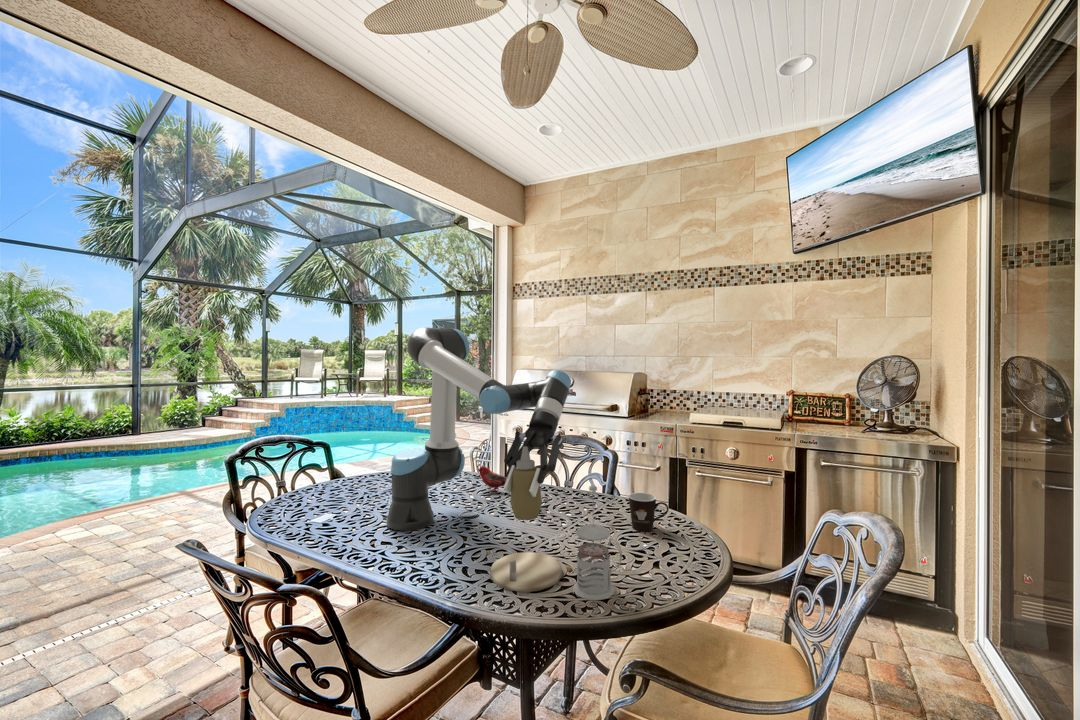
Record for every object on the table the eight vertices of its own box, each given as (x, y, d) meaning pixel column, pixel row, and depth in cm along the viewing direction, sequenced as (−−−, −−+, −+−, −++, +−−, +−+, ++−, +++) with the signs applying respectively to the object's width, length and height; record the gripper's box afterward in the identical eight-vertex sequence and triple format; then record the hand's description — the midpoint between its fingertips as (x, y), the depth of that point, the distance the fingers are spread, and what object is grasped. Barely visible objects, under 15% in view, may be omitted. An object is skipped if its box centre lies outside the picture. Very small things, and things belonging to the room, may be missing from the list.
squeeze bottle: (505, 520, 118) (504, 449, 118) (518, 510, 126) (517, 443, 126) (535, 524, 116) (534, 451, 115) (546, 513, 123) (545, 444, 123)
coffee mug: (623, 528, 150) (623, 497, 150) (637, 520, 156) (637, 491, 156) (656, 538, 142) (656, 505, 142) (670, 530, 148) (670, 498, 148)
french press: (577, 576, 119) (577, 478, 118) (624, 583, 115) (623, 481, 115) (568, 596, 109) (568, 489, 109) (619, 604, 106) (618, 493, 105)
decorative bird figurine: (478, 489, 193) (478, 464, 193) (520, 492, 188) (519, 467, 188) (475, 491, 190) (475, 466, 190) (517, 494, 186) (517, 469, 185)
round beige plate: (477, 581, 116) (476, 557, 116) (512, 553, 133) (512, 531, 133) (543, 598, 109) (542, 572, 108) (572, 565, 125) (572, 543, 125)
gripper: (582, 427, 130) (559, 504, 116) (519, 423, 138) (491, 495, 124) (574, 411, 125) (550, 489, 111) (510, 408, 133) (480, 480, 119)
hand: (519, 492), depth 117 cm, fingers closed on squeeze bottle, 6 cm apart
